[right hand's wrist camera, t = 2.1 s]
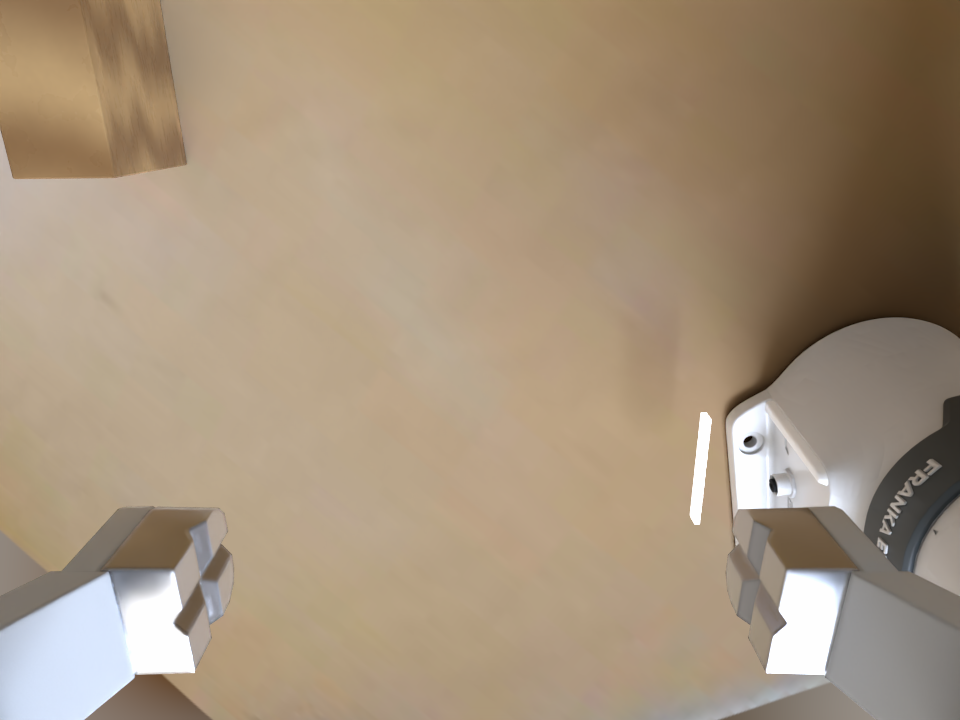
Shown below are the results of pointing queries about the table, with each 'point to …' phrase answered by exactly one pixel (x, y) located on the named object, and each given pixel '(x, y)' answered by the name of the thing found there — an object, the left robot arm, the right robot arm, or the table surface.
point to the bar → (86, 89)
